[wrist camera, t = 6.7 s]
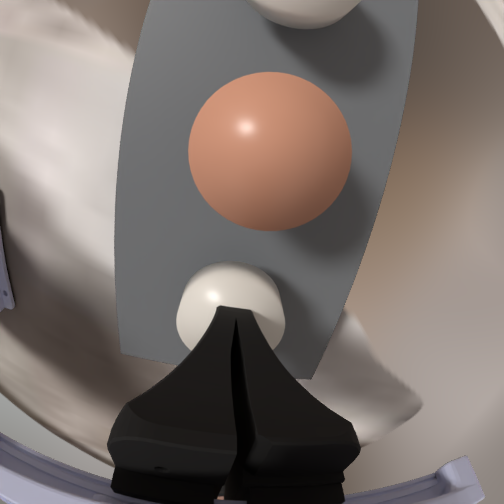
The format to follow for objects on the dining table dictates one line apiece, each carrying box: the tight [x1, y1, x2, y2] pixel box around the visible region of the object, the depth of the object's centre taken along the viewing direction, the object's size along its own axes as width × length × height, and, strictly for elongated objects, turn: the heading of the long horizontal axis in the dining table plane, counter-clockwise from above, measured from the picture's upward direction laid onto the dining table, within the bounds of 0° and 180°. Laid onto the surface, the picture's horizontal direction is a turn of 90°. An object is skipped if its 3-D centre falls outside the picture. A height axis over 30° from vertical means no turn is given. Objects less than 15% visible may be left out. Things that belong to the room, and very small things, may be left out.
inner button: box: [176, 261, 285, 351], centre depth 13 cm, size 4×4×3 cm
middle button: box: [188, 72, 352, 231], centre depth 9 cm, size 4×4×3 cm
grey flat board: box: [114, 0, 418, 379], centre depth 13 cm, size 26×12×2 cm, turn 169°
